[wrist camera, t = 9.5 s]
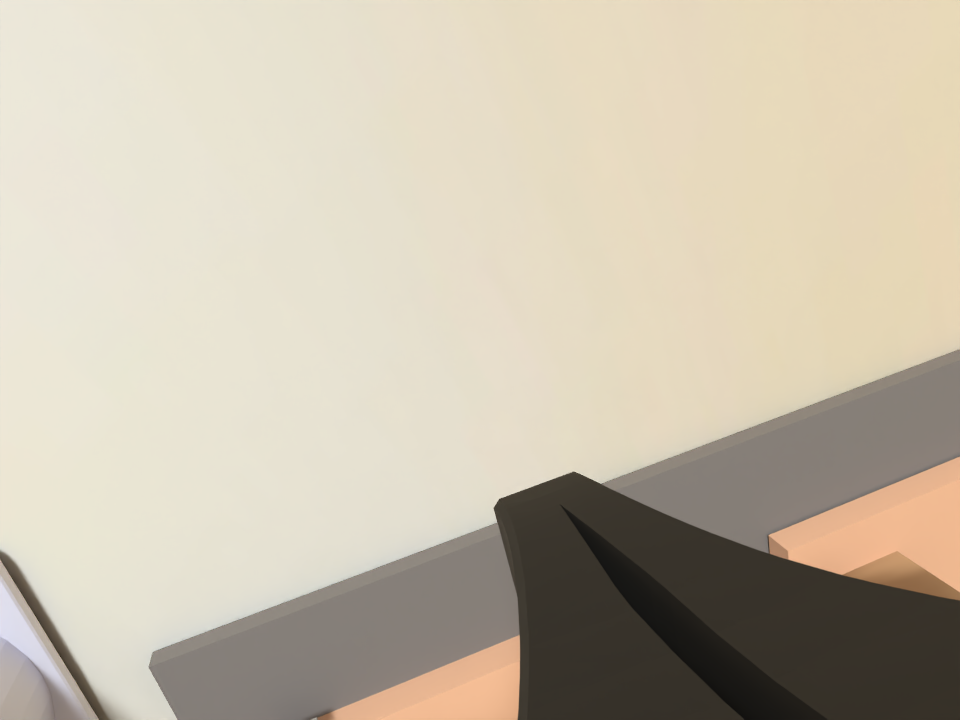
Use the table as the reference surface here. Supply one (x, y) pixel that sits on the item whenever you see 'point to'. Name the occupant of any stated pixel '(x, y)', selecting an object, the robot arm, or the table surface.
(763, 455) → the mat
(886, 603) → the robot arm
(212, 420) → the table surface
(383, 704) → the ticket
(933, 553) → the peach square slab
